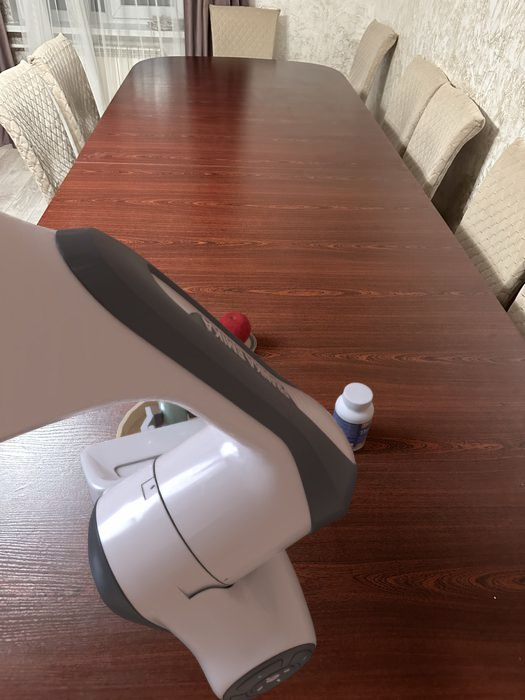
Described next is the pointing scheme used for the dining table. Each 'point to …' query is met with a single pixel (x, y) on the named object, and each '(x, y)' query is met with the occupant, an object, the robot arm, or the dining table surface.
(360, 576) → the dining table surface
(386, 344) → the dining table surface
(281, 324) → the dining table surface
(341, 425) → the pill bottle
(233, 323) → the apple
